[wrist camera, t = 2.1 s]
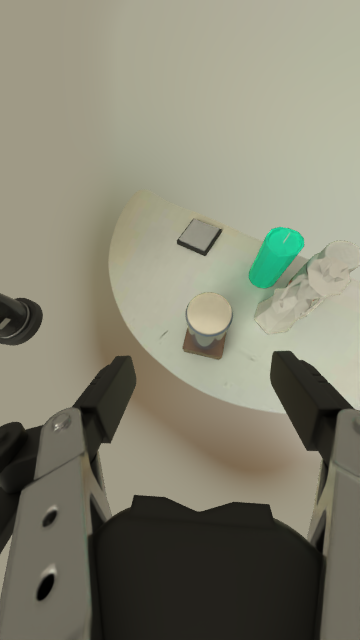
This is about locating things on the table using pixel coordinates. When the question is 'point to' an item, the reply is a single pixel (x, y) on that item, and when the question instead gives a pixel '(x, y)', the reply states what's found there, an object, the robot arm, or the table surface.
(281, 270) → the candle
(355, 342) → the table surface
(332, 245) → the pill bottle
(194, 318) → the canister
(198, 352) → the block
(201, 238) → the scale
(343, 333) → the table surface
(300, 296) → the figurine
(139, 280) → the table surface
